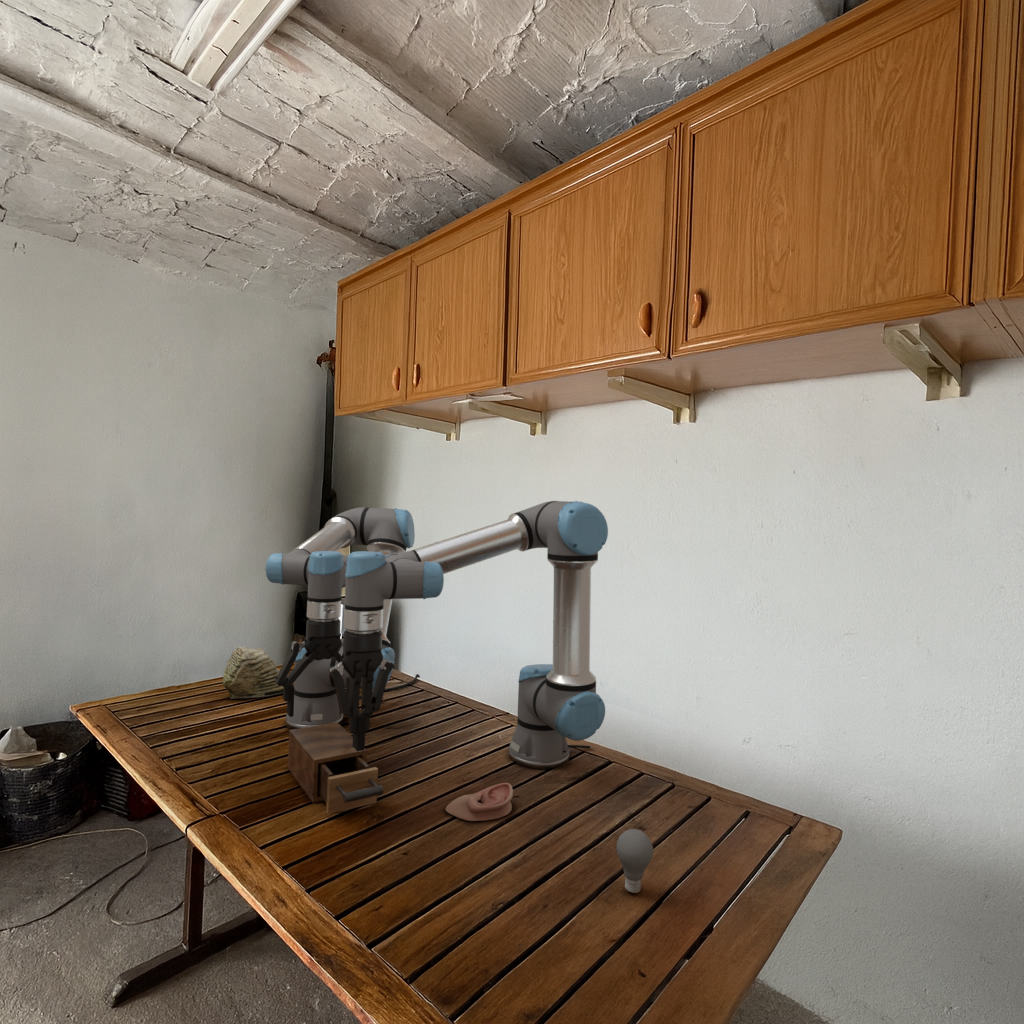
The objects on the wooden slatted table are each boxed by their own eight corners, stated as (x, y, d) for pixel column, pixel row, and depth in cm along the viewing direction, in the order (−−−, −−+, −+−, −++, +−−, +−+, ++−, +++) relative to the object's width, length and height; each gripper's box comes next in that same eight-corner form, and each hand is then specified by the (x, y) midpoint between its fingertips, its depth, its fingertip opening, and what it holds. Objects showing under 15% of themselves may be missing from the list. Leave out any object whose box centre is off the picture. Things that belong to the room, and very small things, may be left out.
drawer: (388, 815, 125) (389, 780, 125) (338, 828, 120) (339, 791, 120) (346, 769, 145) (347, 739, 145) (301, 779, 139) (303, 747, 139)
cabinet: (365, 790, 137) (366, 749, 137) (312, 803, 131) (314, 760, 131) (335, 758, 153) (337, 722, 153) (287, 768, 147) (289, 730, 147)
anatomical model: (441, 797, 127) (457, 773, 138) (440, 817, 127) (456, 791, 138) (505, 806, 124) (517, 781, 136) (504, 826, 124) (516, 800, 136)
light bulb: (610, 879, 108) (613, 822, 108) (644, 879, 109) (647, 822, 109) (619, 902, 102) (622, 840, 102) (655, 901, 103) (658, 840, 103)
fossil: (218, 695, 195) (220, 647, 195) (278, 685, 208) (279, 640, 207) (228, 703, 189) (230, 653, 188) (289, 692, 201) (290, 645, 201)
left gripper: (271, 625, 135) (267, 724, 136) (381, 617, 150) (377, 707, 150) (263, 619, 142) (259, 713, 142) (369, 612, 156) (365, 698, 156)
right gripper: (337, 636, 118) (332, 761, 119) (401, 630, 126) (396, 748, 126) (324, 628, 125) (319, 747, 125) (386, 623, 132) (381, 736, 132)
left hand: (320, 710), depth 146 cm, fingers open, 13 cm apart
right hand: (358, 748), depth 126 cm, fingers closed
